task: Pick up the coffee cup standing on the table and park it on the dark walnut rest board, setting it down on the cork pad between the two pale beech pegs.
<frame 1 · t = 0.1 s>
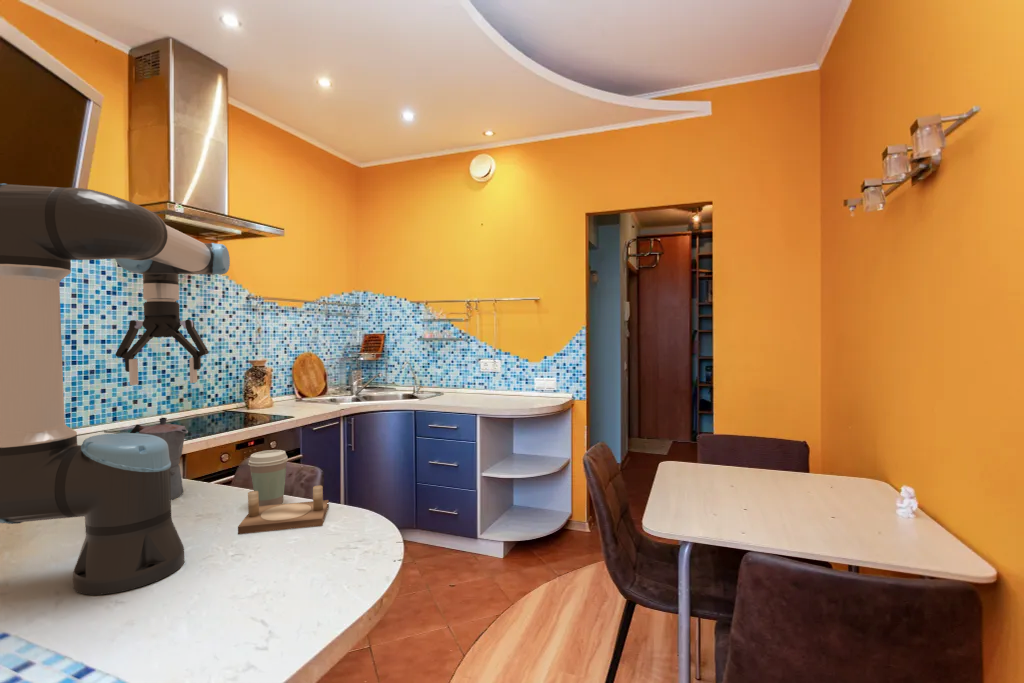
hand: (164, 383, 130), 28 cm above the countertop, fingers open, 13 cm apart
rest board: (286, 519, 109), on the countertop
moka pot: (160, 498, 125), on the countertop
coffee cup: (269, 504, 119), on the countertop
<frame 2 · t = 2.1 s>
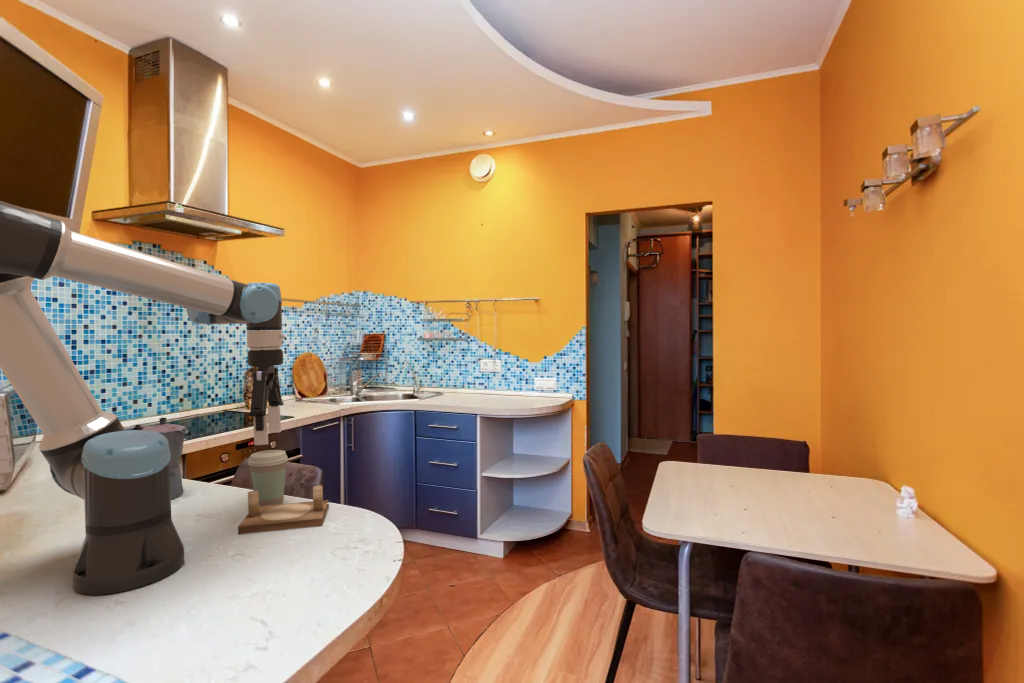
hand: (268, 438, 119), 16 cm above the countertop, fingers open, 13 cm apart
nothing on the countertop moved.
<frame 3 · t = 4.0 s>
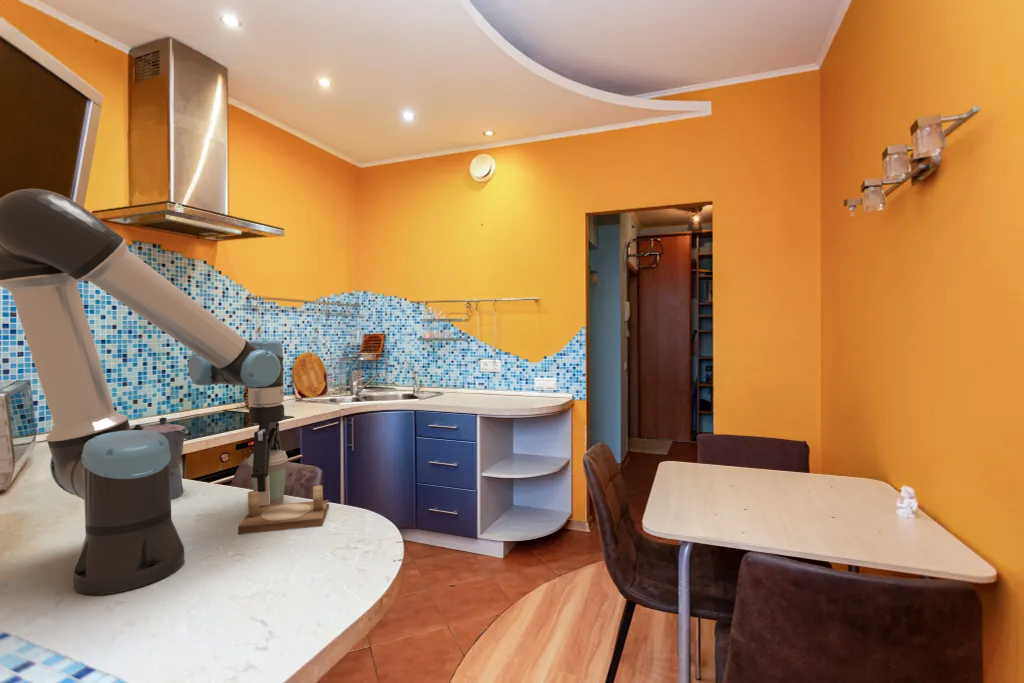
hand: (269, 496, 119), 2 cm above the countertop, fingers open, 11 cm apart
nothing on the countertop moved.
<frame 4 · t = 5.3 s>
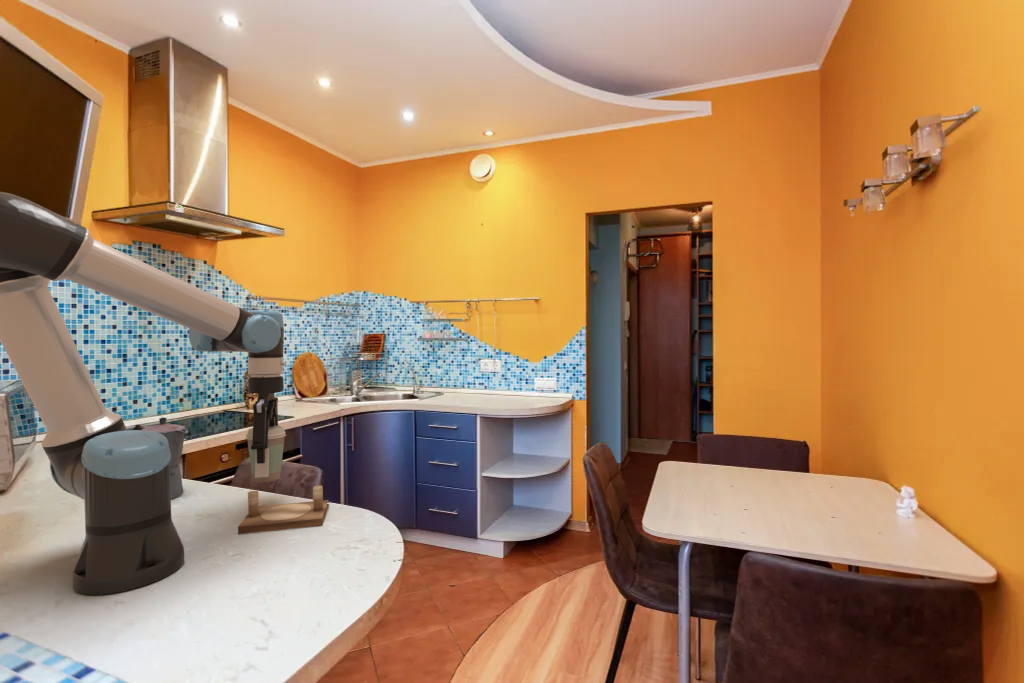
hand: (266, 472, 119), 8 cm above the countertop, fingers closed on coffee cup, 8 cm apart
coffee cup: (266, 479, 119), point 6 cm above the countertop, touching gripper
everything else where it was.
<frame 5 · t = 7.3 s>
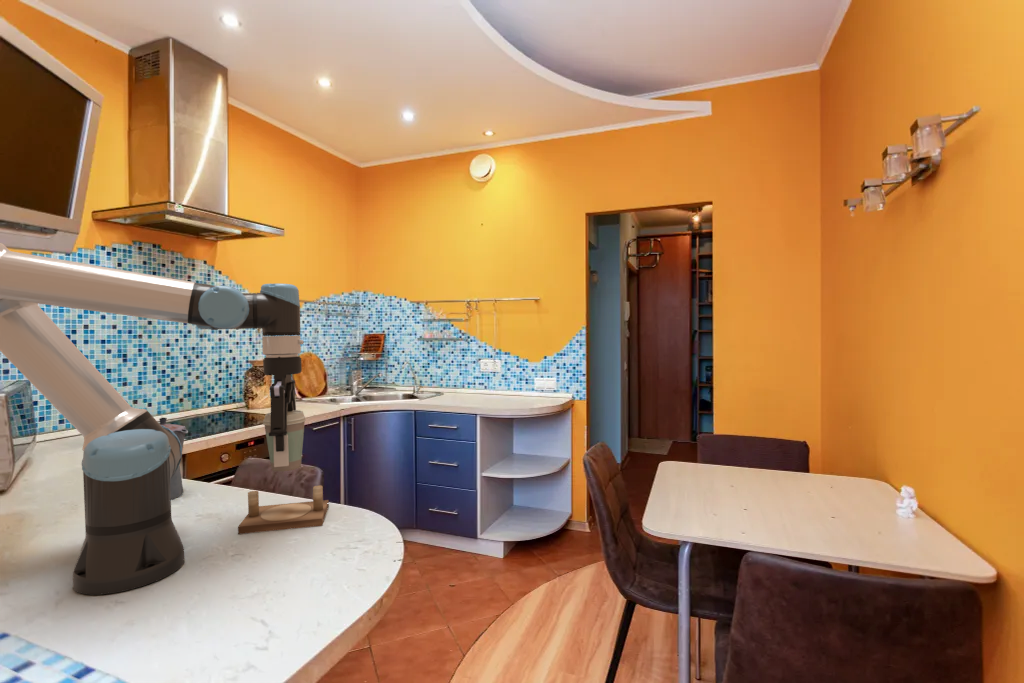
hand: (285, 460, 109), 13 cm above the countertop, fingers closed on coffee cup, 8 cm apart
coffee cup: (286, 468, 109), point 11 cm above the countertop, touching gripper
everything else where it was.
when the fingers open (4 cm above the countertop, at t = 9.5 s): coffee cup stays where it is, resting on rest board.
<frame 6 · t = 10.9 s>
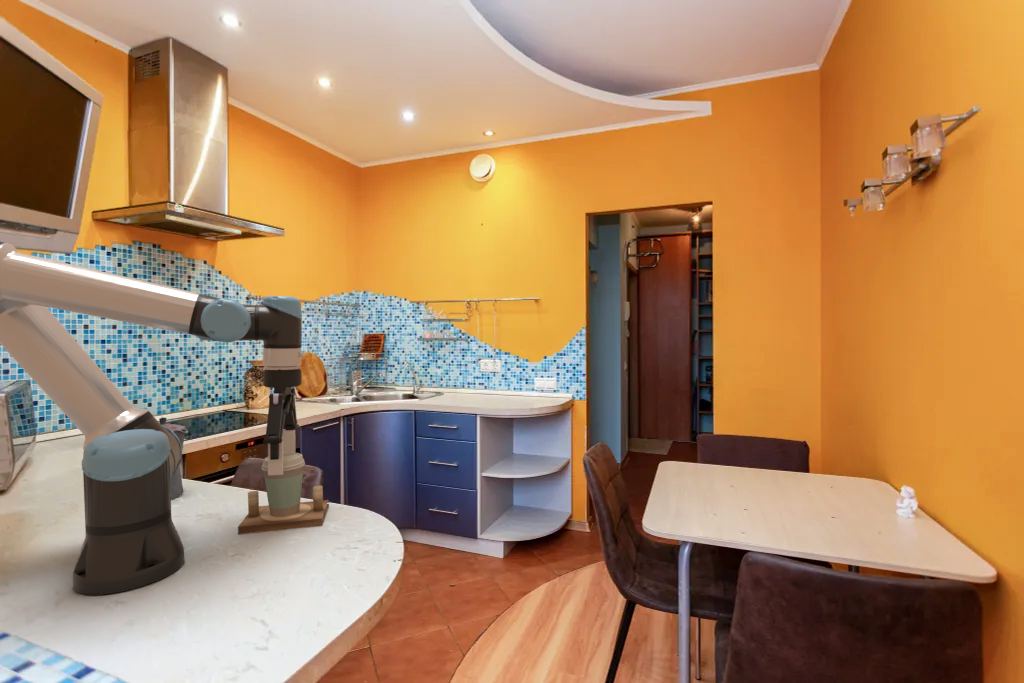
hand: (282, 466, 108), 12 cm above the countertop, fingers open, 13 cm apart
coffee cup: (284, 512, 109), point 2 cm above the countertop, touching rest board
everything else where it was.
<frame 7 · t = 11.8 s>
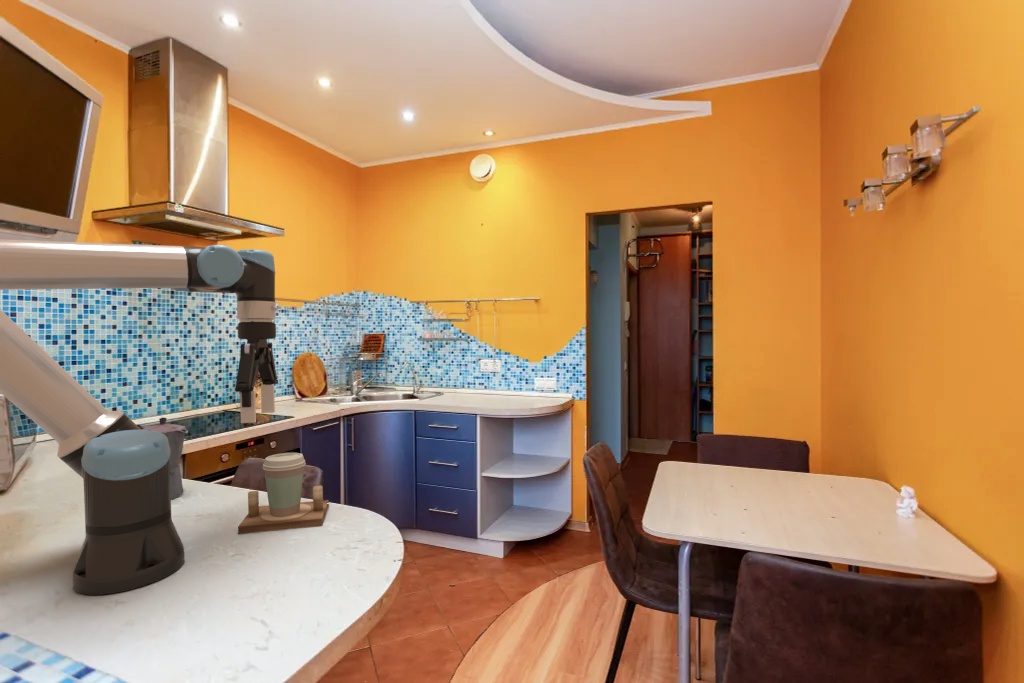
hand: (258, 417, 111), 22 cm above the countertop, fingers open, 13 cm apart
nothing on the countertop moved.
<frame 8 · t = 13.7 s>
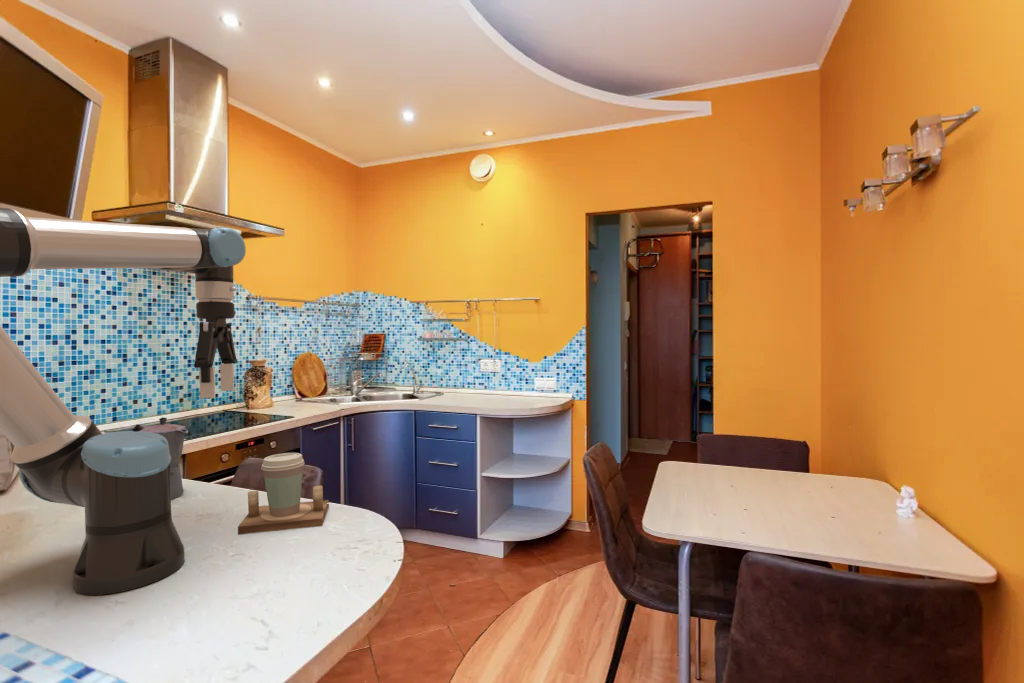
hand: (218, 394, 115), 27 cm above the countertop, fingers open, 13 cm apart
nothing on the countertop moved.
at the end: coffee cup inside the target area on the rest board (0.4 cm from its centre), point 1.5 cm above the rest board's base; coffee cup tilted 1°; the gripper is holding nothing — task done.
